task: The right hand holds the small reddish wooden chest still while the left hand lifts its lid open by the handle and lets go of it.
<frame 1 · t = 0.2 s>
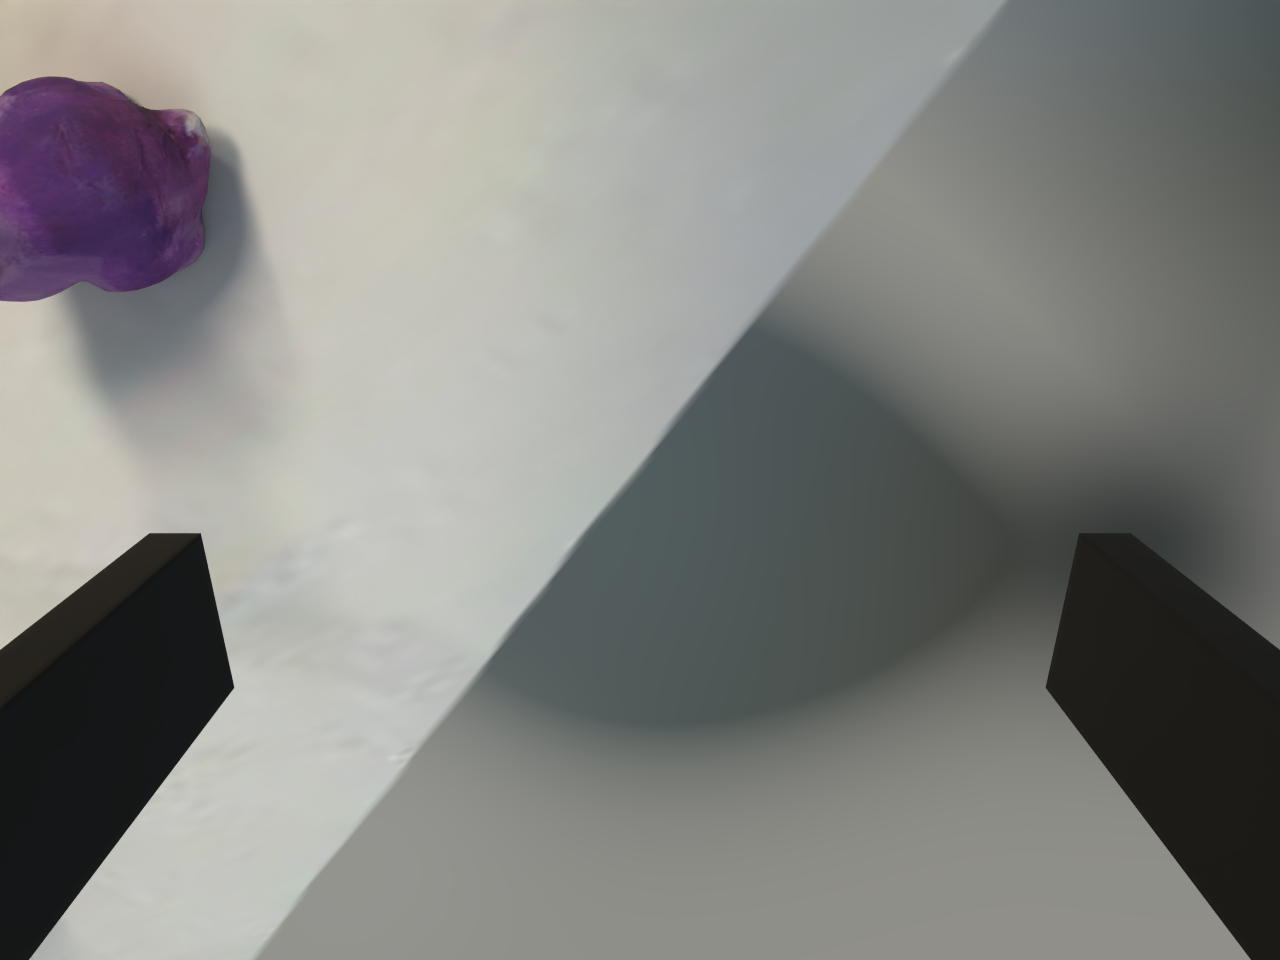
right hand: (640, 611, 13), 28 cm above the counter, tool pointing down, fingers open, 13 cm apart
figurine: (120, 207, 37), on the counter
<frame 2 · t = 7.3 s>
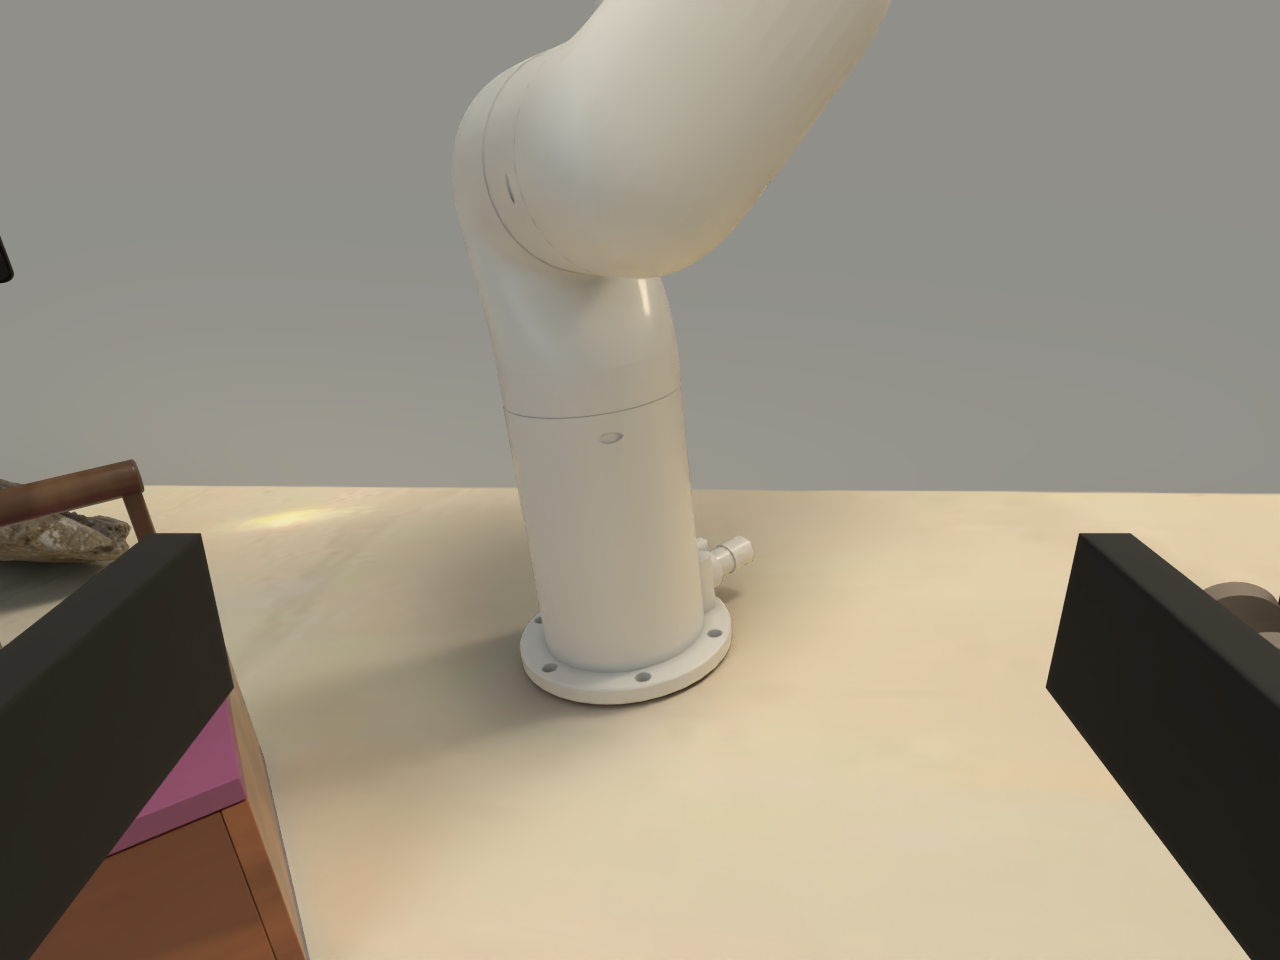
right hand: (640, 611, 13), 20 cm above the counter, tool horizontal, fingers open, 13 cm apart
lid: (51, 634, 30), point 13 cm above the counter, hinge at 0.0°
chest: (164, 907, 35), on the counter
fossil: (22, 584, 69), on the counter
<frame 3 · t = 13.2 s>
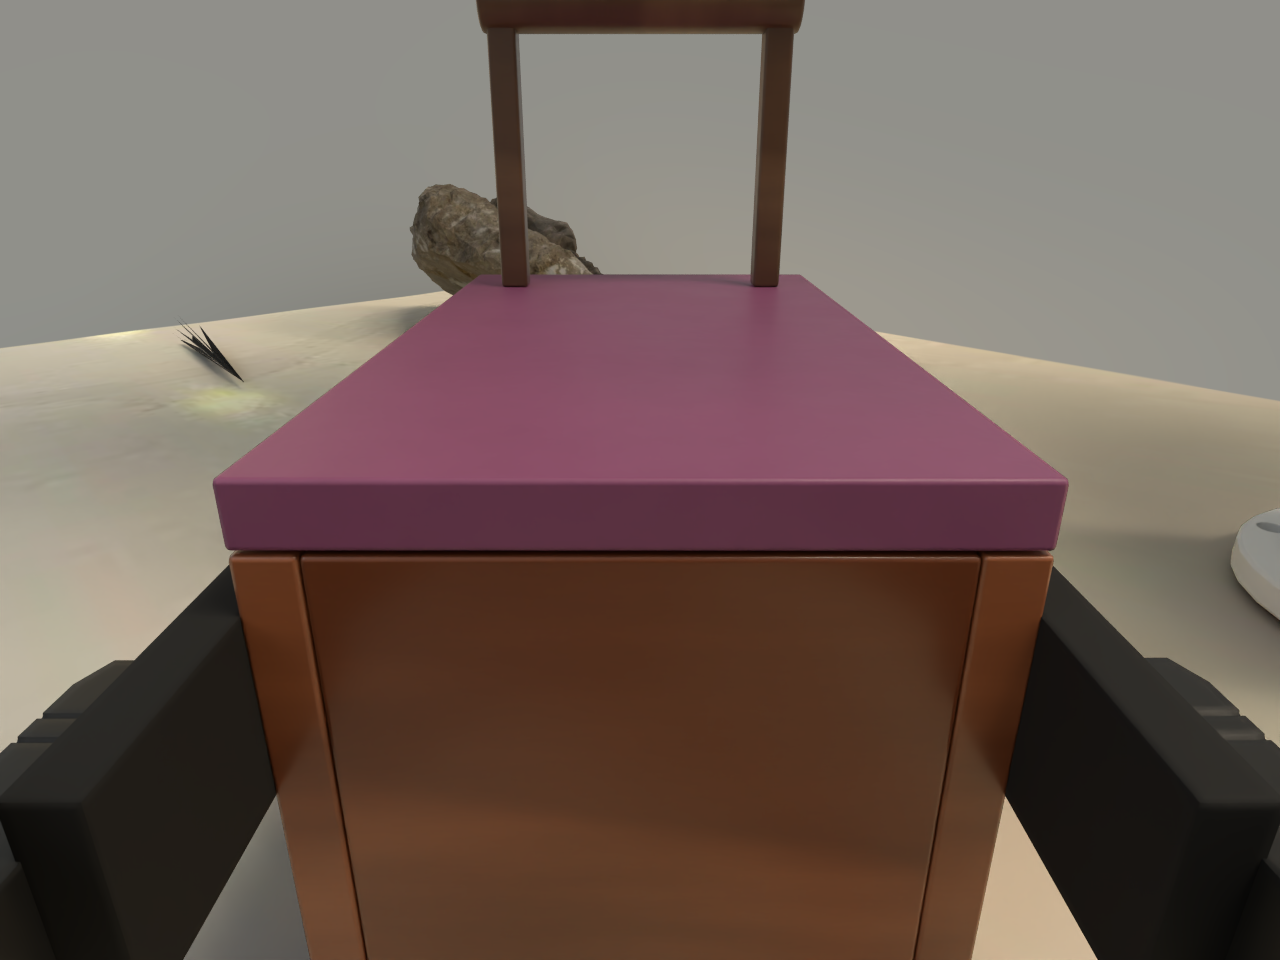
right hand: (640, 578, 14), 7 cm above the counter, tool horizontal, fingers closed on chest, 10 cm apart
lid: (640, 155, 16), point 13 cm above the counter, hinge at -0.1°
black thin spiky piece: (231, 379, 51), on the counter
chest: (640, 729, 20), on the counter, touching right hand
fossil: (511, 334, 63), on the counter
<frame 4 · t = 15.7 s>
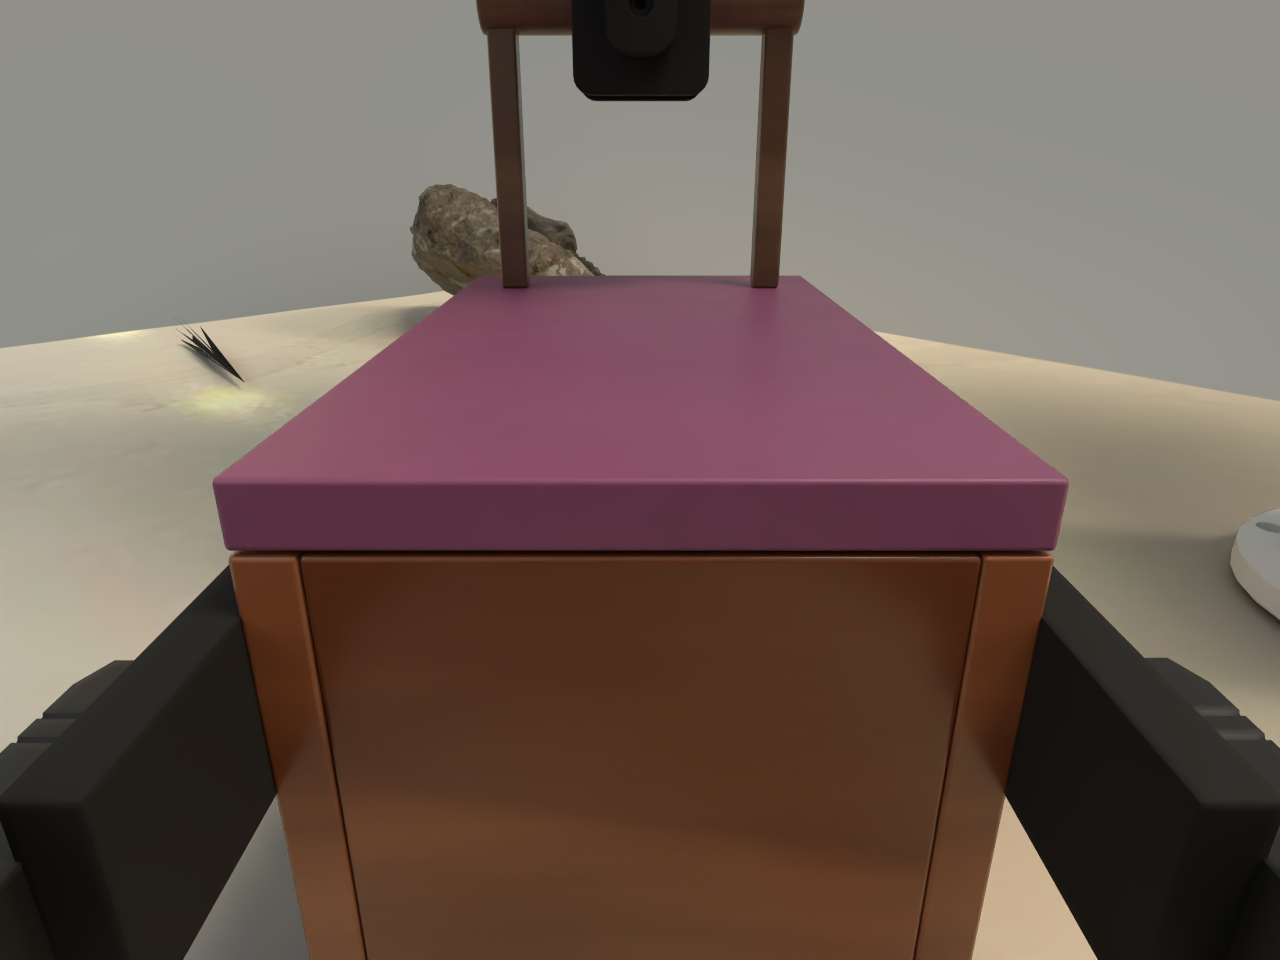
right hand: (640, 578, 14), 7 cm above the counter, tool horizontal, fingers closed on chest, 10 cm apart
lid: (640, 156, 16), point 13 cm above the counter, hinge at -0.2°, touching left hand
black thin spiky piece: (231, 379, 51), on the counter
chest: (640, 729, 20), on the counter, touching right hand
fossil: (511, 334, 63), on the counter
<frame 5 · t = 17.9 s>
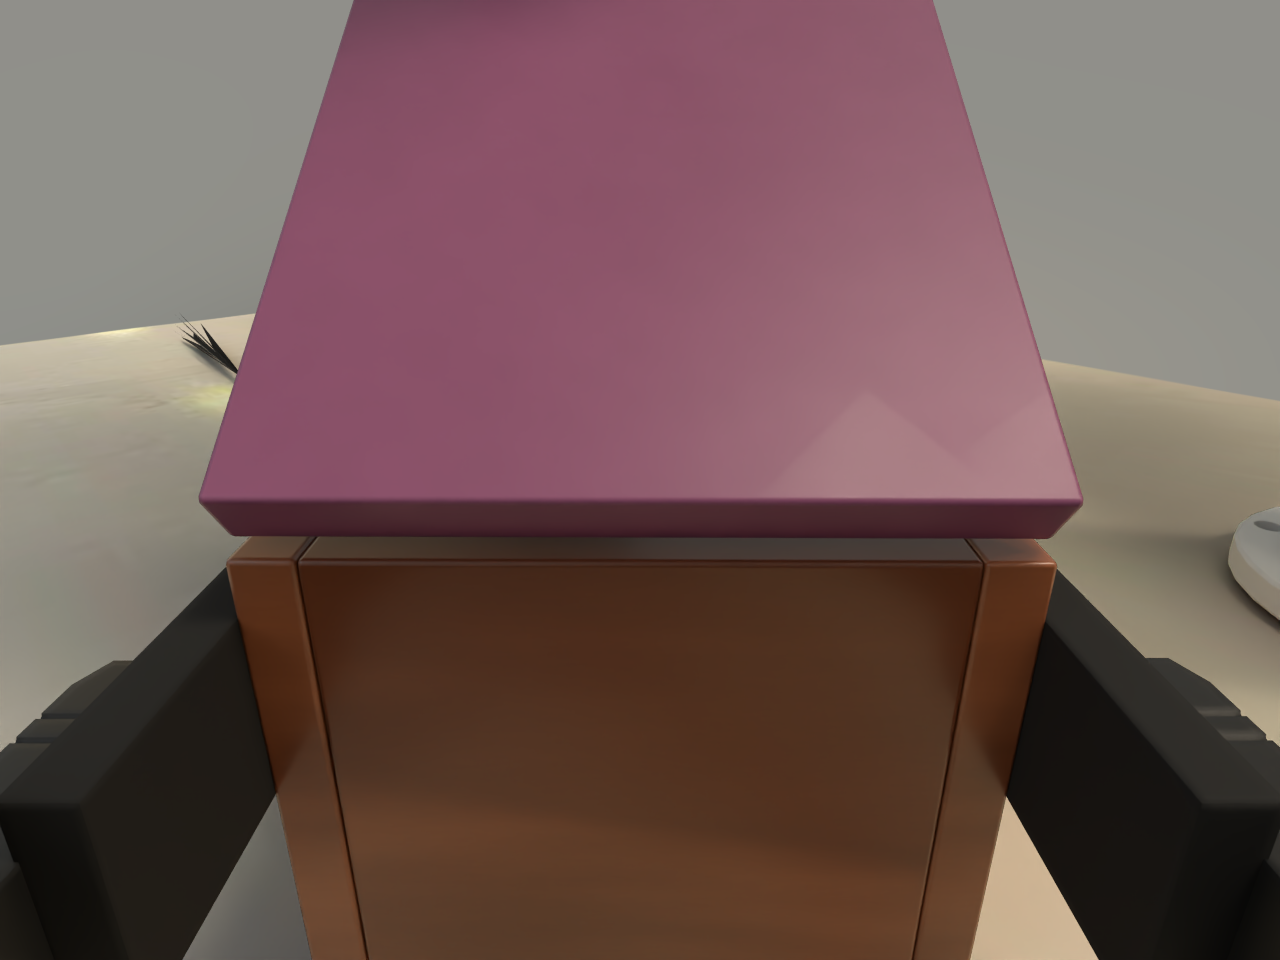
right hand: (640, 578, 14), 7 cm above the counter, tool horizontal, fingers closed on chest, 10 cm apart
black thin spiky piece: (232, 377, 51), on the counter
chest: (641, 722, 20), on the counter, touching right hand
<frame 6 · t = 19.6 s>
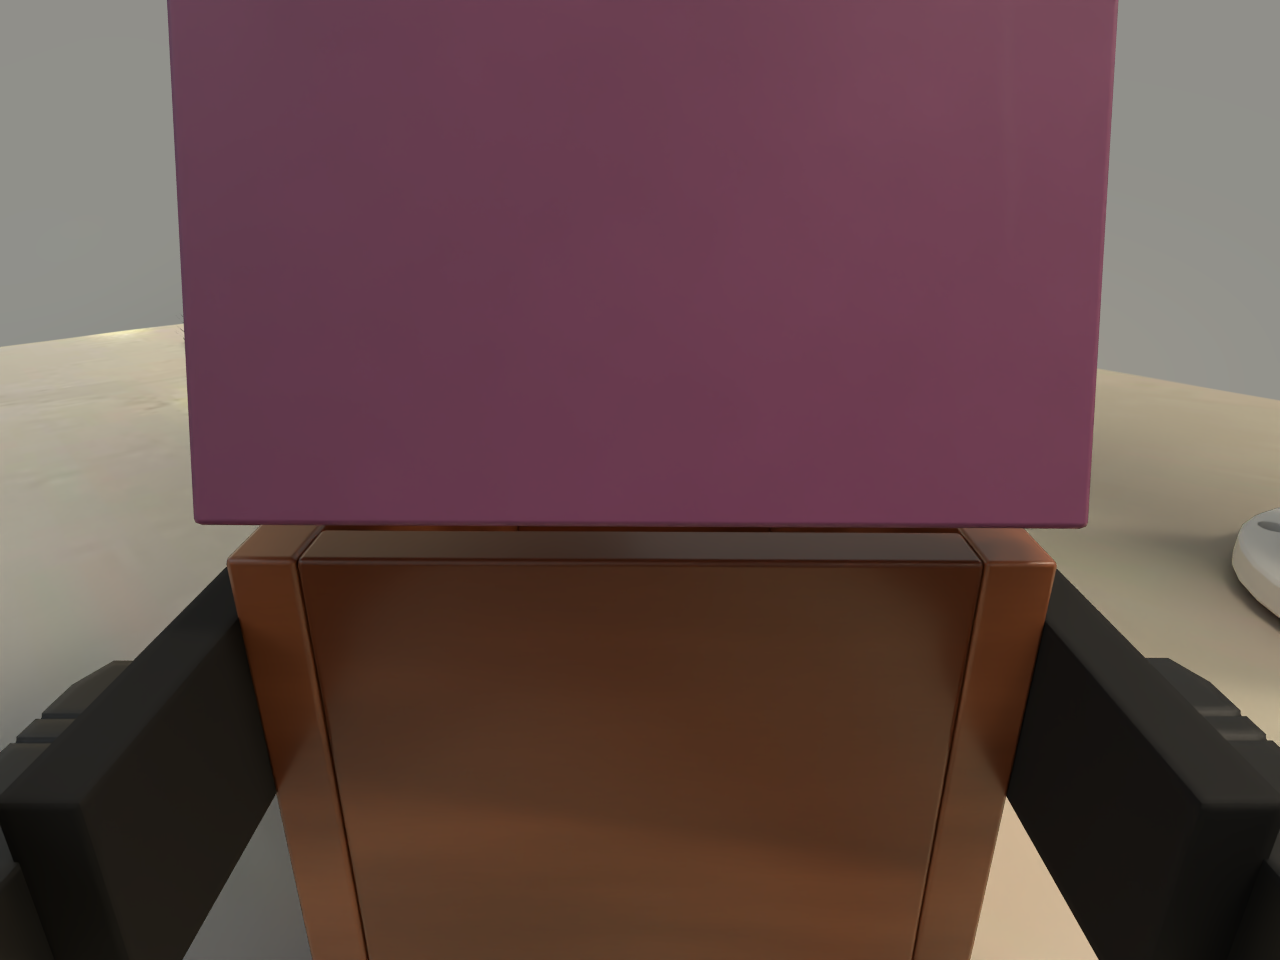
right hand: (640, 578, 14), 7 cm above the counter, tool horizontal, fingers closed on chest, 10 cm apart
chest: (642, 722, 20), on the counter, touching right hand
when the right hand's fingers open (7 cm above the counter, at t = 24.1 s): chest stays where it is, on the counter.
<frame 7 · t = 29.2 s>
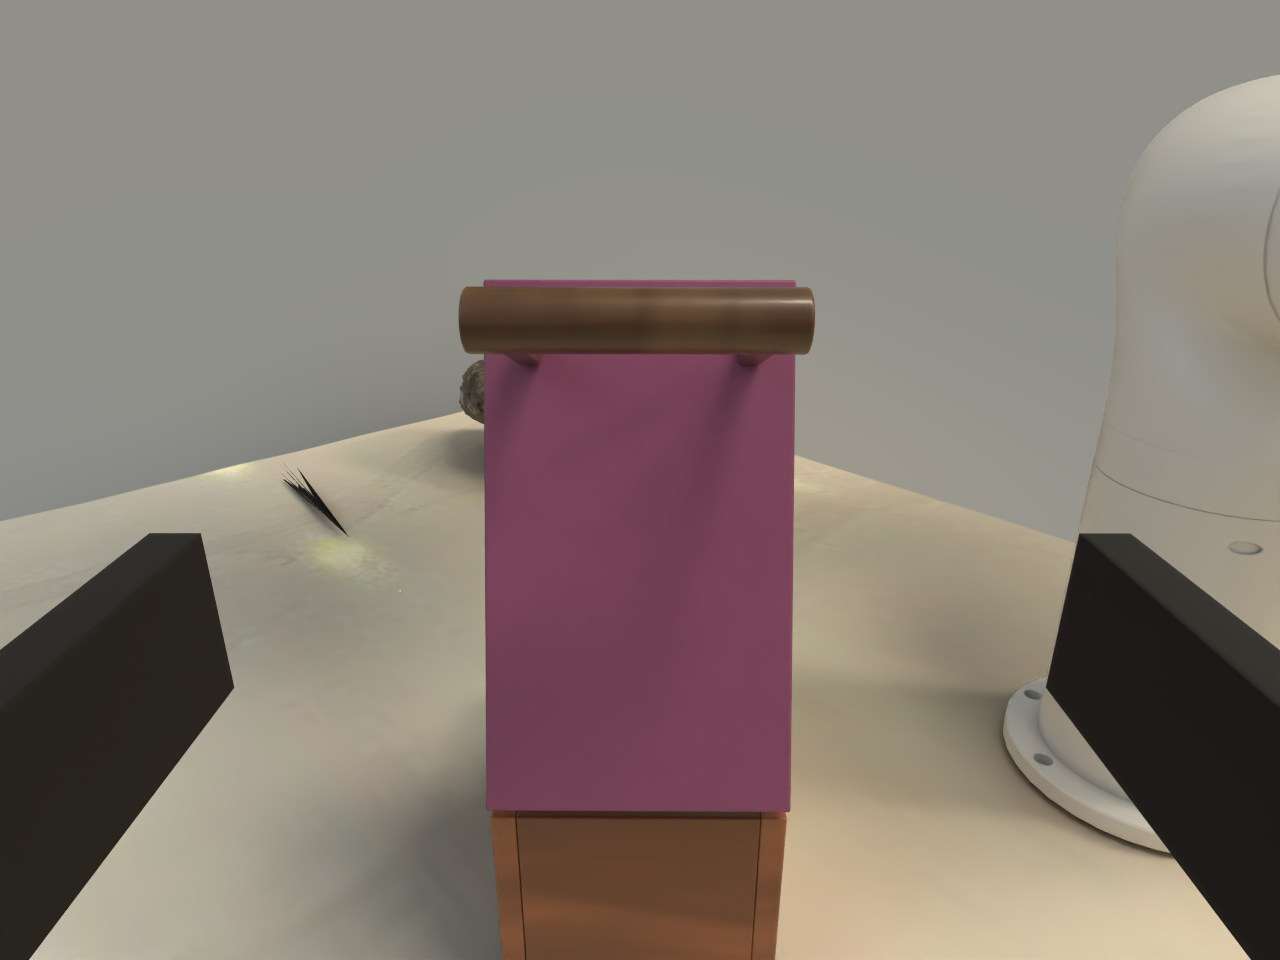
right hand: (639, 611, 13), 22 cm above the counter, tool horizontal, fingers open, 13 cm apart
lid: (637, 565, 23), point 18 cm above the counter, hinge at 70.9°
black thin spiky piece: (335, 528, 68), on the counter
chest: (640, 837, 38), on the counter
fossil: (539, 469, 81), on the counter
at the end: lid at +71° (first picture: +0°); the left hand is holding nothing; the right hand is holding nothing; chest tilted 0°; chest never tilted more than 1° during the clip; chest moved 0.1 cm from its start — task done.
